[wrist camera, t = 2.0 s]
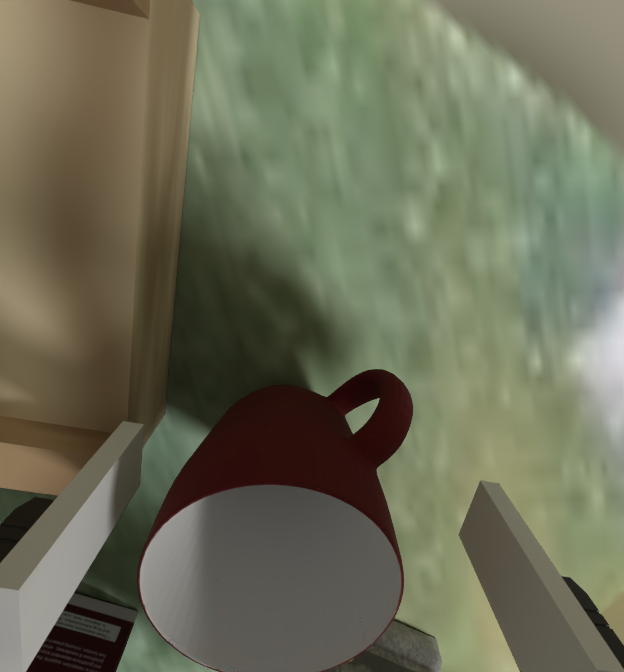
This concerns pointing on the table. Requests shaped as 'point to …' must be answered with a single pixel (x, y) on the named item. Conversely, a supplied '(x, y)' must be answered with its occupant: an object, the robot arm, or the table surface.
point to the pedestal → (88, 223)
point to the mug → (281, 533)
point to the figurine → (397, 653)
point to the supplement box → (86, 637)
